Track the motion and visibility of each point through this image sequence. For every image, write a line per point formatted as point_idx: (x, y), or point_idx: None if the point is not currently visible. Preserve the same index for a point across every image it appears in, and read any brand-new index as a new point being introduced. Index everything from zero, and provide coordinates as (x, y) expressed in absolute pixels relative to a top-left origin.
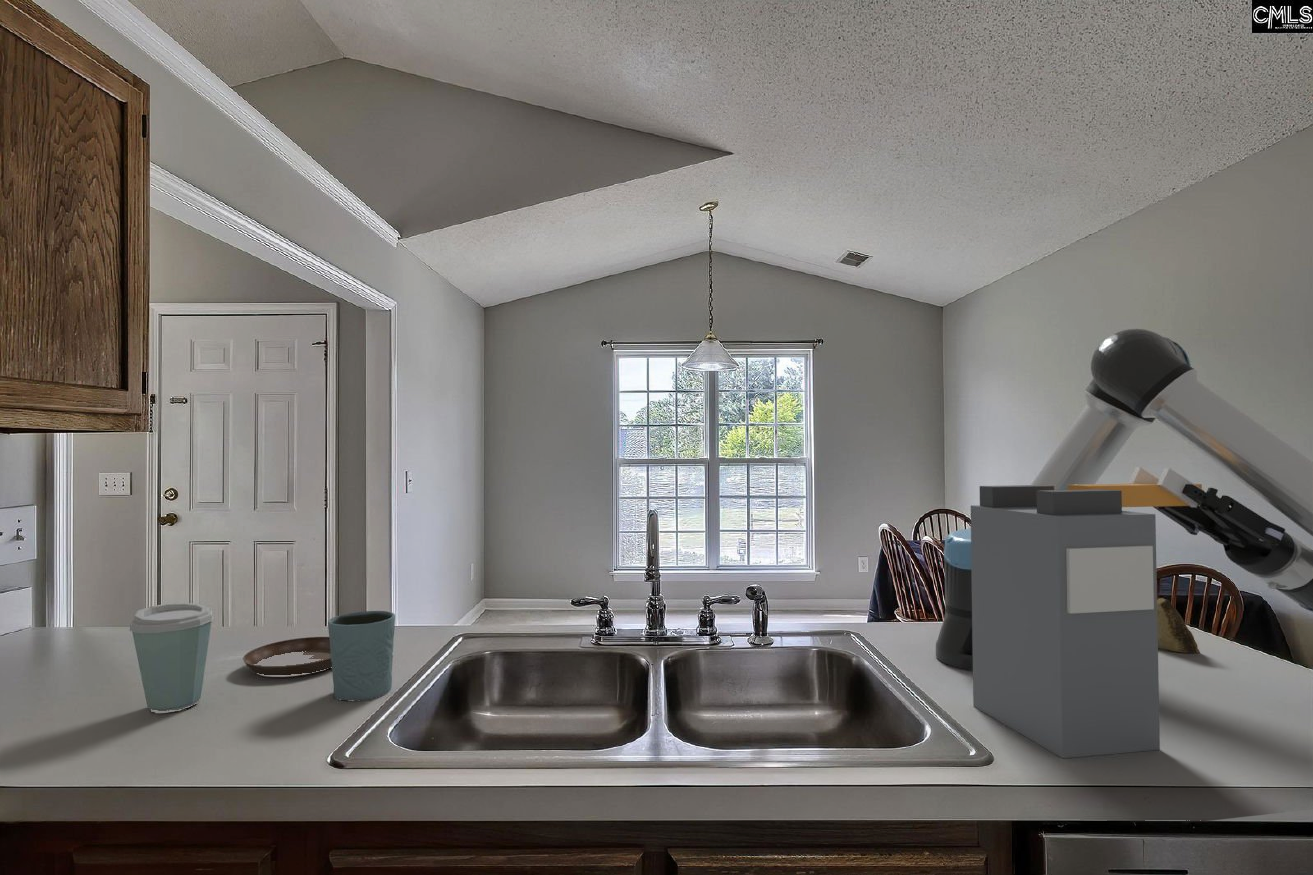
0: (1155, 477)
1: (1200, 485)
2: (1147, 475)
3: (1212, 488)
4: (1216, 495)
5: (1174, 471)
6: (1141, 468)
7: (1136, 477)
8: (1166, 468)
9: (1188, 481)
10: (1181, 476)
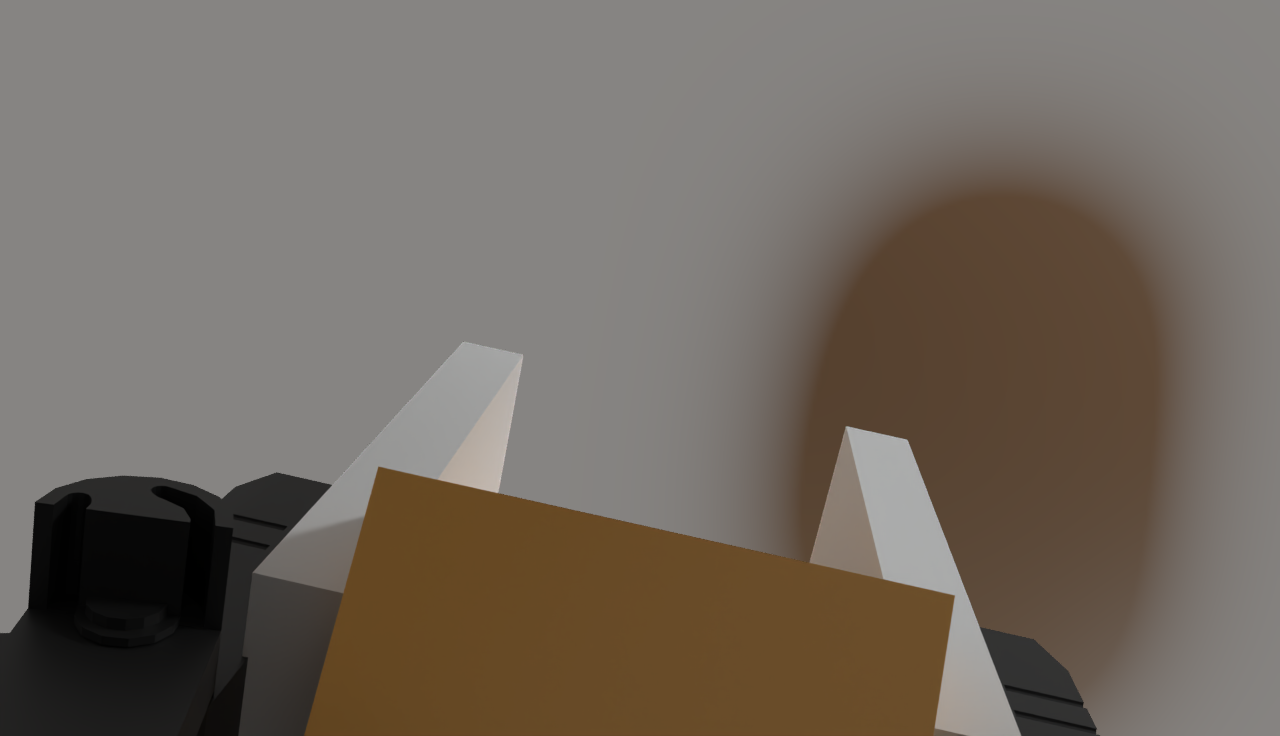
0: (862, 526)
1: (381, 494)
2: (844, 512)
3: (128, 488)
4: (20, 620)
5: (444, 364)
6: (848, 438)
7: (813, 552)
8: (497, 355)
9: (376, 451)
10: (414, 403)
